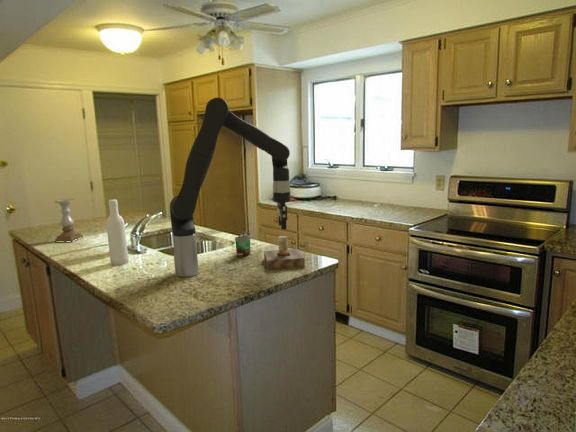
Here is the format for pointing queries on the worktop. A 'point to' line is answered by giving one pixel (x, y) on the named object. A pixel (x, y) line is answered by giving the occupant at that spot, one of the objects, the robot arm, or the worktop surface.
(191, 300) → the worktop surface
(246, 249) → the food container
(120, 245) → the bottle
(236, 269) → the worktop surface
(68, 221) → the candle holder
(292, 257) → the socket block
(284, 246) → the dowel
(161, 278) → the worktop surface
